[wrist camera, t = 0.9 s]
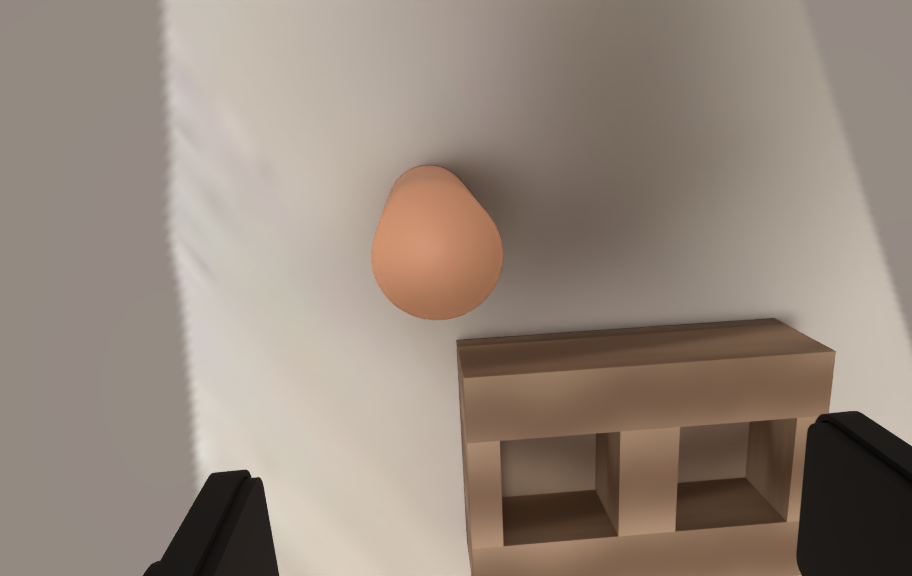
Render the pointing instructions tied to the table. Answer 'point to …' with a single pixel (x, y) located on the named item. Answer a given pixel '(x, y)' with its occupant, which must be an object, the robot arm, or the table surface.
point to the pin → (435, 246)
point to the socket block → (639, 449)
